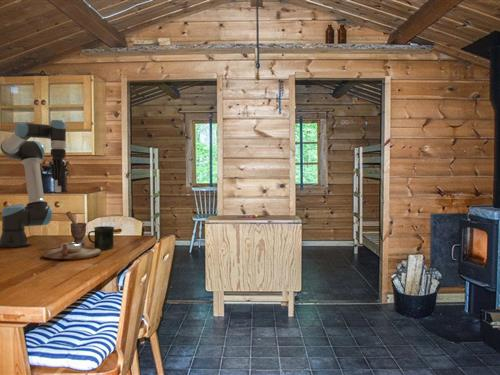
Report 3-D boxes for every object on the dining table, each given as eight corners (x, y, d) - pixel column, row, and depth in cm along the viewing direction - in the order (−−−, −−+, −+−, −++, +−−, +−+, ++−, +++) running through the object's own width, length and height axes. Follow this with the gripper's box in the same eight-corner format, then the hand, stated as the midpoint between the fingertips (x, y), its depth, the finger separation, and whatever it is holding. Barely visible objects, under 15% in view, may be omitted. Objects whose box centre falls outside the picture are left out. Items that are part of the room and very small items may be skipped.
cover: (57, 253, 228) (57, 243, 228) (64, 249, 238) (64, 240, 238) (78, 253, 229) (78, 243, 229) (83, 249, 239) (83, 240, 239)
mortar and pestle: (63, 246, 259) (63, 212, 258) (66, 244, 267) (66, 210, 266) (84, 246, 261) (84, 212, 260) (87, 243, 269) (87, 210, 269)
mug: (111, 249, 251) (112, 228, 251) (85, 249, 250) (85, 228, 250) (116, 246, 262) (116, 226, 262) (90, 246, 261) (90, 226, 260)
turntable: (34, 258, 218) (34, 244, 218) (54, 248, 246) (54, 236, 246) (92, 259, 221) (92, 244, 221) (106, 249, 249) (106, 236, 248)
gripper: (44, 148, 243) (44, 191, 244) (59, 148, 236) (59, 192, 237) (57, 149, 250) (57, 191, 251) (71, 149, 243) (71, 192, 244)
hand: (58, 192), depth 244 cm, fingers closed
